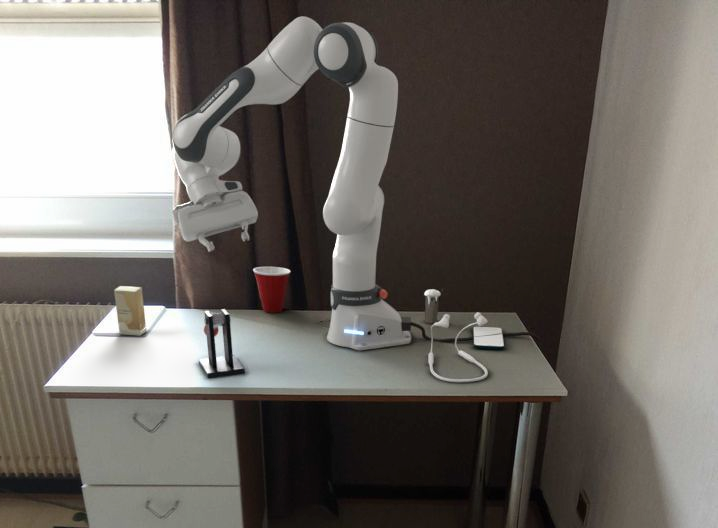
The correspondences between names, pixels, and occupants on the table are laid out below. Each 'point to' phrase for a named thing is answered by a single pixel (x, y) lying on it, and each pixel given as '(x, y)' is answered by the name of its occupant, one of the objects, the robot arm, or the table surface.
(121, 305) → the cosmetic box
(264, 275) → the plastic cup
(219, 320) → the lever
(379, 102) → the robot arm
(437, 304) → the milkshake
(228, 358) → the bracket
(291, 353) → the table surface
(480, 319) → the earphone
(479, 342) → the smartphone
